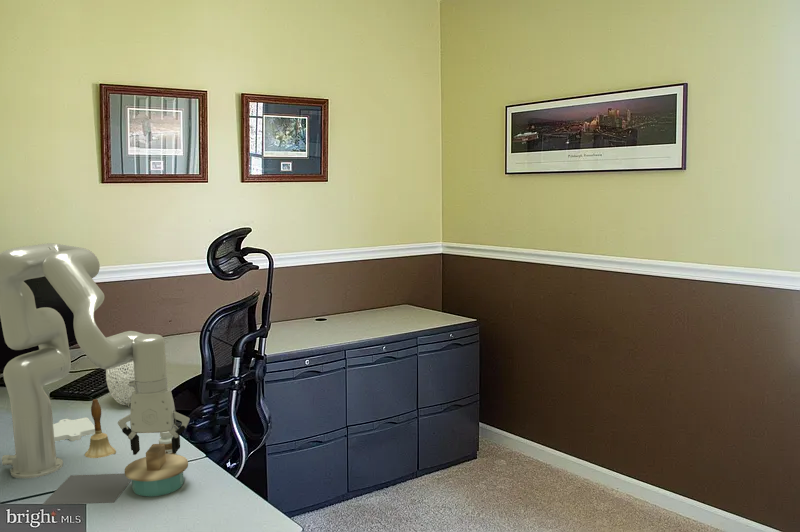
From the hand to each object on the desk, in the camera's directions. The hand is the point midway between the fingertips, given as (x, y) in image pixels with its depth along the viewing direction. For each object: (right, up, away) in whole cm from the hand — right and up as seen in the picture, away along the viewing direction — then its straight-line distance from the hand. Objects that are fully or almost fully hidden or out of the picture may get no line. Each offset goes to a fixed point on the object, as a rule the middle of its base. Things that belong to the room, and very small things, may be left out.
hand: (156, 452), depth 186 cm
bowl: (0, -9, +1) cm, 9 cm away
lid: (0, -4, +1) cm, 4 cm away
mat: (-16, -10, +1) cm, 19 cm away
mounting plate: (-40, -5, +43) cm, 59 cm away
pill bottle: (-3, -7, +21) cm, 22 cm away
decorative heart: (-32, -1, +68) cm, 75 cm away
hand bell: (-24, -7, +24) cm, 35 cm away
